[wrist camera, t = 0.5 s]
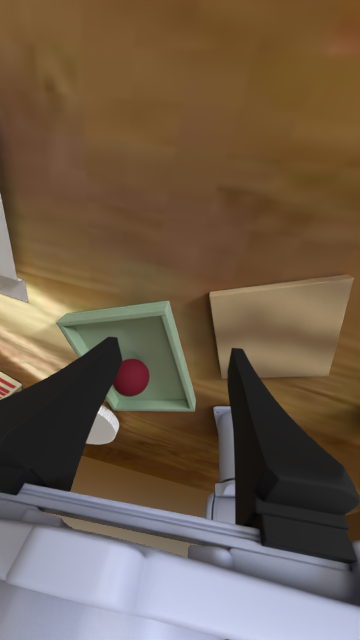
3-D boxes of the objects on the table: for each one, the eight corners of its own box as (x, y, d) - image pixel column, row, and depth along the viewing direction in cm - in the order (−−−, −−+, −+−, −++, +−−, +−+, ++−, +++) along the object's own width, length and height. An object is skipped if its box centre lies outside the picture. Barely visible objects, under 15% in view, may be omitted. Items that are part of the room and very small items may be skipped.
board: (324, 369, 24) (328, 376, 23) (221, 373, 26) (221, 379, 26) (347, 273, 17) (354, 278, 17) (209, 291, 20) (209, 296, 19)
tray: (195, 399, 30) (194, 411, 29) (118, 399, 34) (113, 410, 32) (168, 300, 21) (165, 310, 20) (66, 313, 25) (55, 322, 23)
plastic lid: (108, 438, 42) (103, 451, 40) (43, 412, 40) (34, 425, 38) (132, 409, 35) (126, 424, 33) (53, 375, 32) (42, 388, 30)
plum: (157, 374, 28) (148, 404, 24) (127, 375, 29) (114, 404, 25) (147, 349, 25) (136, 378, 22) (115, 352, 26) (98, 380, 23)
